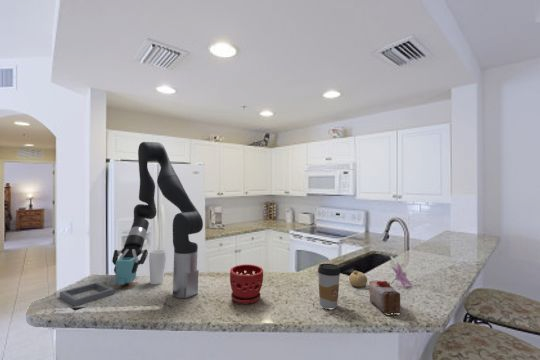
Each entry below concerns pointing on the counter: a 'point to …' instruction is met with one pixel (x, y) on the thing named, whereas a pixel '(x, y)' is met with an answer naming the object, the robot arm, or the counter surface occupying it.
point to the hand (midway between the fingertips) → (124, 272)
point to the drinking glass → (157, 266)
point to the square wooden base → (125, 285)
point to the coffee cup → (328, 285)
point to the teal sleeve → (125, 270)
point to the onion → (358, 279)
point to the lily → (401, 276)
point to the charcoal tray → (75, 301)
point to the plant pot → (246, 283)
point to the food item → (384, 296)
